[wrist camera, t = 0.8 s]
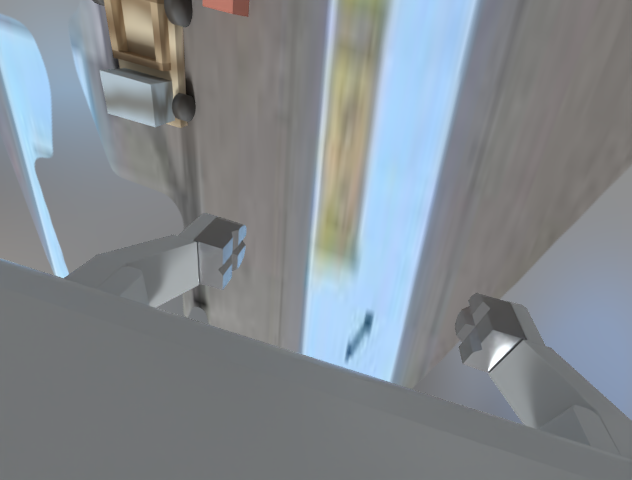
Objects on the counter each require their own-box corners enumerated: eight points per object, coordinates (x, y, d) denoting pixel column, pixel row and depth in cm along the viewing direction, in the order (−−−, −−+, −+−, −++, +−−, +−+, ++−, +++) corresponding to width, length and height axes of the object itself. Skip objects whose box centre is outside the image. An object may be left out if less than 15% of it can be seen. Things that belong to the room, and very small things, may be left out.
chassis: (102, -44, 41) (55, -59, 35) (191, -22, 40) (157, -33, 34) (127, 107, 52) (94, 115, 46) (196, 127, 51) (171, 138, 46)
